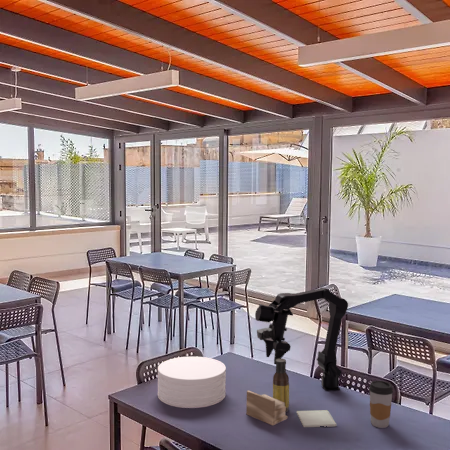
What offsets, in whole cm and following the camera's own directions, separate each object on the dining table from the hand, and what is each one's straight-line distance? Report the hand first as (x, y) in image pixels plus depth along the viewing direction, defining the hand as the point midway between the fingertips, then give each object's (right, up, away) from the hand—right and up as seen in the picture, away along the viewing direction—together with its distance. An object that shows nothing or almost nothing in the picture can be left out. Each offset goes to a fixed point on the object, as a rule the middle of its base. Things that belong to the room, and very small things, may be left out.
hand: (271, 360), depth 219 cm
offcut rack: (-4, -15, -21) cm, 27 cm away
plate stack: (-33, -14, -1) cm, 36 cm away
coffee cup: (+37, -17, -27) cm, 49 cm away
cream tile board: (+15, -16, -24) cm, 32 cm away
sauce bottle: (+2, -15, -16) cm, 22 cm away
